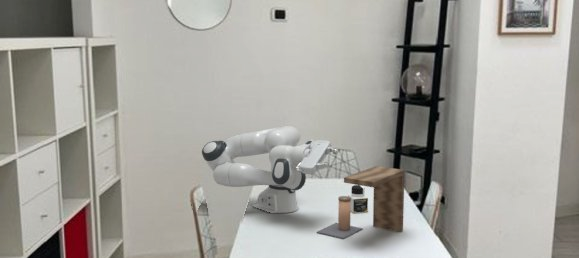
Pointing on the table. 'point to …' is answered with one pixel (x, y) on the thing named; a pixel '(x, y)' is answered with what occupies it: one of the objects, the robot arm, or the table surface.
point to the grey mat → (338, 231)
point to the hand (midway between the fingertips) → (332, 158)
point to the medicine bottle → (358, 199)
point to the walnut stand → (384, 195)
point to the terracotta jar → (344, 213)
